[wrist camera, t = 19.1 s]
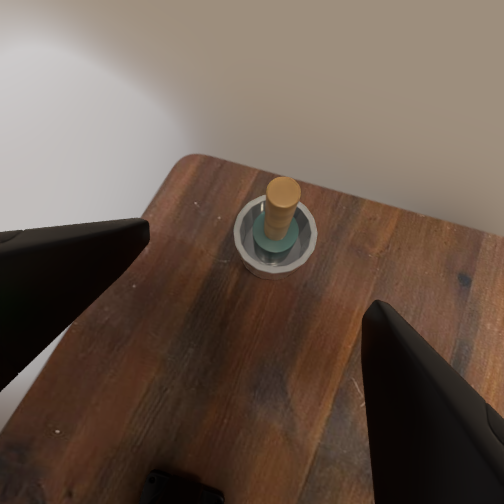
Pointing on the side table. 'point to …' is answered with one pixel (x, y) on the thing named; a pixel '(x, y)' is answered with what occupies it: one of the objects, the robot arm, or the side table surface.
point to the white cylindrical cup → (297, 253)
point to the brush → (277, 221)
